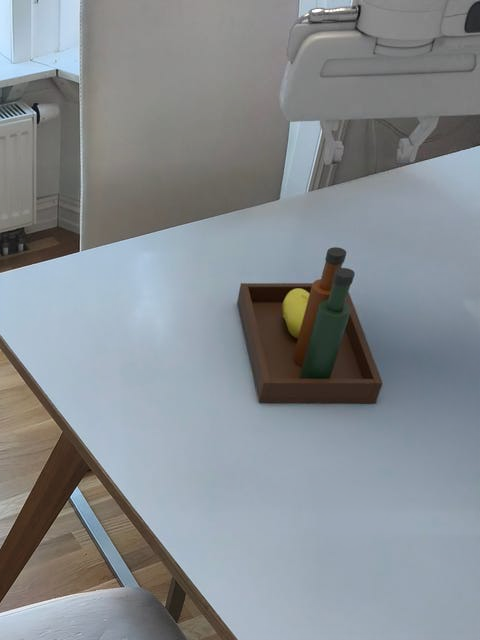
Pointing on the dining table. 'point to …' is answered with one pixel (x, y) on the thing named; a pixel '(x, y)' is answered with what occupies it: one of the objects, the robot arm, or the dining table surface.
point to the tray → (279, 346)
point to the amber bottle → (317, 300)
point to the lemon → (295, 310)
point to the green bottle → (328, 329)
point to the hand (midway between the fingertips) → (367, 161)
